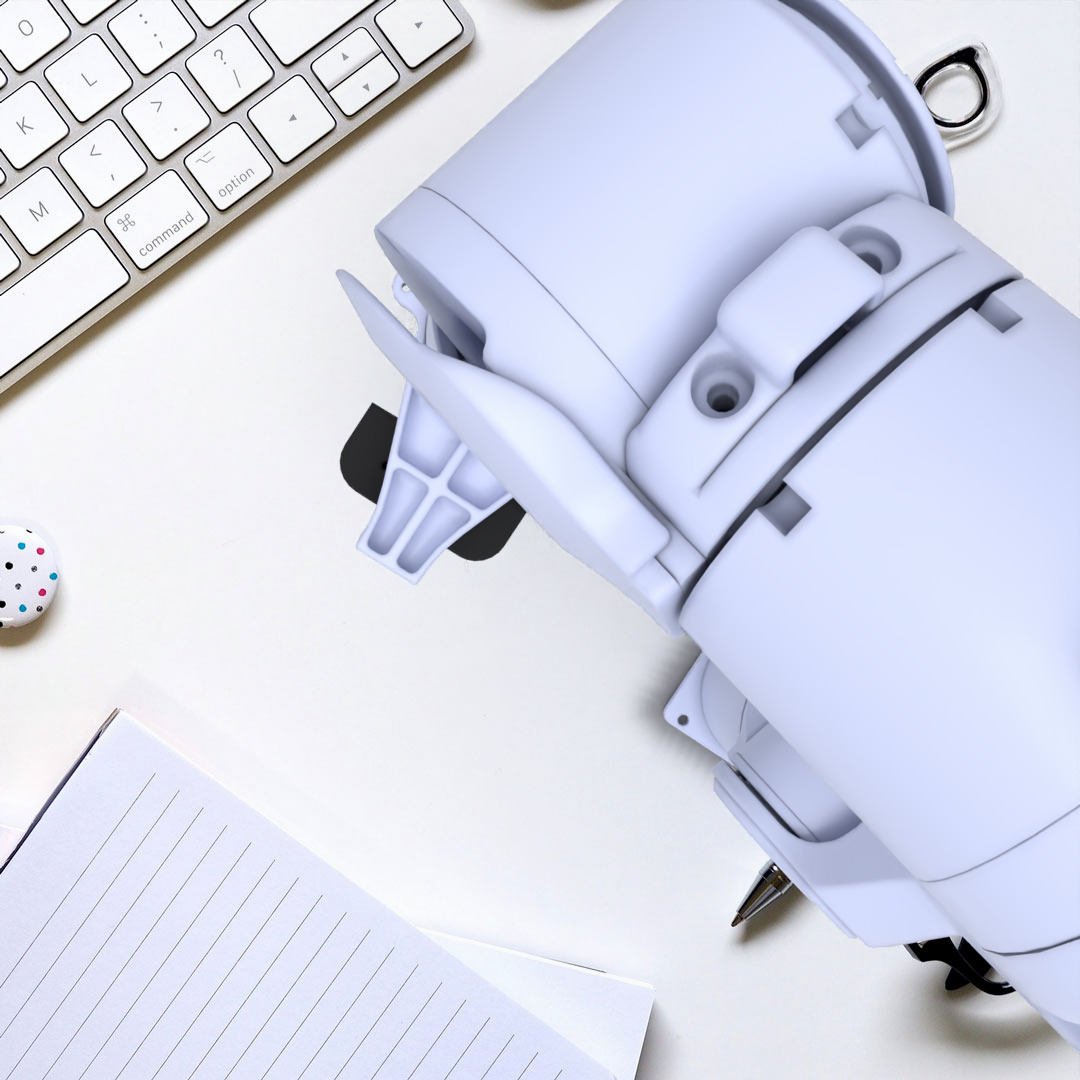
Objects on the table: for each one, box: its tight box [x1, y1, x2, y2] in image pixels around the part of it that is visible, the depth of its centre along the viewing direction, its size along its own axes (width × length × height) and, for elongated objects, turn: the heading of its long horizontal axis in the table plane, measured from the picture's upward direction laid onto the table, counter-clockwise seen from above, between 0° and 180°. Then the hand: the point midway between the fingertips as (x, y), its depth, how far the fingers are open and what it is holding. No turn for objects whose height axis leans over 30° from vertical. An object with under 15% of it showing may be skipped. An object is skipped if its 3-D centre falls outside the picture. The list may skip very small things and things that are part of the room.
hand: (501, 361), depth 35 cm, fingers open, 7 cm apart
